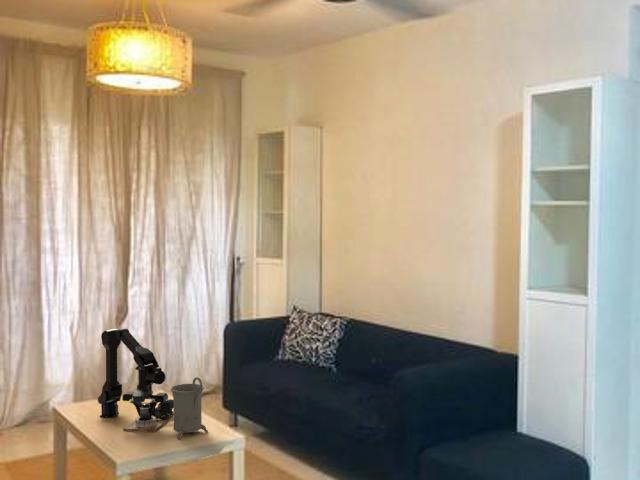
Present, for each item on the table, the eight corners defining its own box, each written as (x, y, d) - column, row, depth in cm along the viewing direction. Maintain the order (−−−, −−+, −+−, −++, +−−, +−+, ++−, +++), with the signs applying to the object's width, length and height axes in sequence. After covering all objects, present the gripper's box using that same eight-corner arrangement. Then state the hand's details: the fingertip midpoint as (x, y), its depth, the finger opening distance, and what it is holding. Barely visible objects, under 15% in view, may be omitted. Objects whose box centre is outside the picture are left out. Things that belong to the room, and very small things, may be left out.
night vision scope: (170, 416, 312) (185, 403, 310) (154, 429, 294) (171, 415, 292) (160, 403, 312) (175, 390, 311) (143, 415, 295) (159, 401, 293)
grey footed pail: (161, 433, 280) (160, 374, 279) (190, 425, 291) (190, 368, 290) (186, 443, 267) (186, 381, 266) (216, 435, 278) (216, 375, 277)
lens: (138, 421, 287) (137, 405, 287) (142, 418, 292) (142, 402, 291) (148, 421, 286) (148, 405, 286) (152, 418, 291) (152, 402, 291)
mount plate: (123, 430, 283) (123, 422, 283) (137, 420, 297) (137, 413, 297) (154, 432, 281) (154, 424, 281) (167, 422, 295) (167, 414, 295)
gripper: (116, 384, 282) (116, 421, 282) (158, 386, 279) (158, 423, 280) (127, 378, 293) (128, 413, 293) (168, 379, 290) (168, 415, 291)
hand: (145, 416), depth 289 cm, fingers closed on lens, 5 cm apart
